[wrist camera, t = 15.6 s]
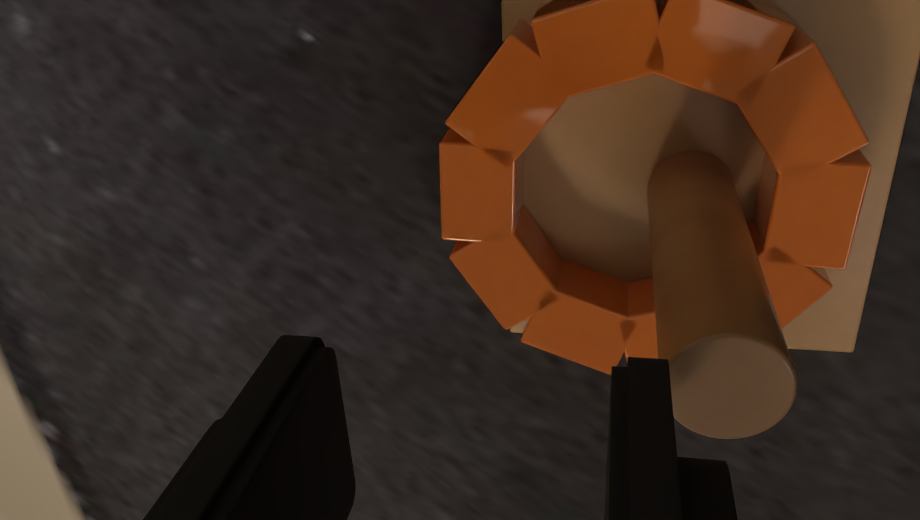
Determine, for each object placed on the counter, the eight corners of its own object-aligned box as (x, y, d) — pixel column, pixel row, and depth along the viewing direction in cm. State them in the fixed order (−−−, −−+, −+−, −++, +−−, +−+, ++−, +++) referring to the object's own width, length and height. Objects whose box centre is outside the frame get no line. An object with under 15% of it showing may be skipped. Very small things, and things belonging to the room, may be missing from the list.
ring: (456, 322, 22) (443, 359, 20) (450, -32, 17) (433, -20, 16) (799, 354, 20) (813, 395, 19) (890, -27, 16) (920, -13, 14)
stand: (516, 305, 23) (455, 562, 15) (509, -11, 19) (418, 100, 10) (839, 322, 21) (978, 624, 13) (912, -21, 17) (1184, 100, 9)
